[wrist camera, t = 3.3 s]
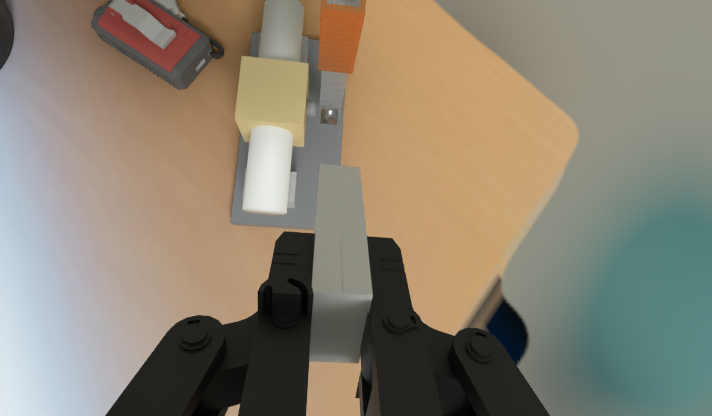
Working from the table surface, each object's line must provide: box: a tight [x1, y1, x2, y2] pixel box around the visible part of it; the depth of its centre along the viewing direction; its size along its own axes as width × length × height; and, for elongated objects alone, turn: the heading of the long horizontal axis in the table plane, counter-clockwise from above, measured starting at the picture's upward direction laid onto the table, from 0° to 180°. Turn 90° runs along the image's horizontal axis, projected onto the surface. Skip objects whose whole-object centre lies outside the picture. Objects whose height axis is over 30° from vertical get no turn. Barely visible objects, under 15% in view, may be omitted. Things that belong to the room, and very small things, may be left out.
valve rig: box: [231, 0, 345, 230], centre depth 41 cm, size 22×11×10 cm, turn 177°
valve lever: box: [318, 0, 366, 125], centre depth 32 cm, size 3×3×17 cm
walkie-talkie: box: [91, 0, 224, 90], centre depth 45 cm, size 9×4×20 cm
